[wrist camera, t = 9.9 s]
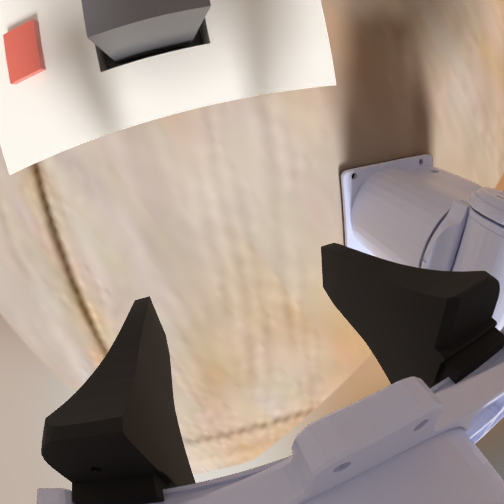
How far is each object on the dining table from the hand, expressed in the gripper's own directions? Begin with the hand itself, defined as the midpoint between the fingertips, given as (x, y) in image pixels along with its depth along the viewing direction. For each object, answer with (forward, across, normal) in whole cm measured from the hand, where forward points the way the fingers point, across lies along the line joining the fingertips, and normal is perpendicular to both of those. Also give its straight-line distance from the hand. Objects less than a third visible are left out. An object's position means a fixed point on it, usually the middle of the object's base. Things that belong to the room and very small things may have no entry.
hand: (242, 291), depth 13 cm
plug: (+10, +1, -13) cm, 16 cm away
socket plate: (+10, +1, -13) cm, 17 cm away
